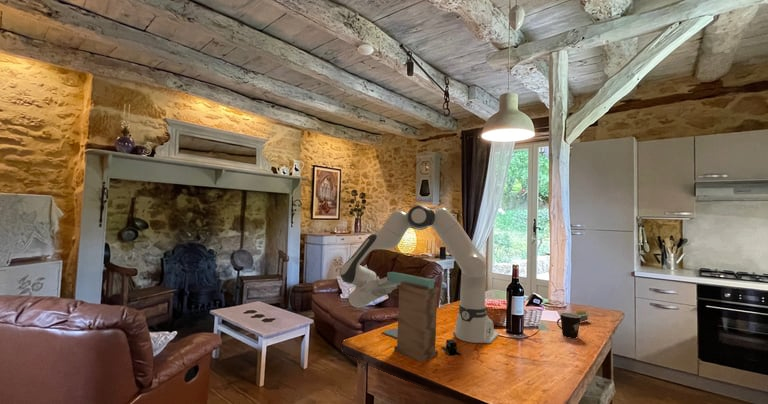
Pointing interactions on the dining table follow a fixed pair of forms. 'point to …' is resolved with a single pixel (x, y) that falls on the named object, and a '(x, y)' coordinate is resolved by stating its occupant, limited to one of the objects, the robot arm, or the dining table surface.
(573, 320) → the coffee mug
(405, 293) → the walnut stand
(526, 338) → the dining table surface
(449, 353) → the black block on plate
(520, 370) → the dining table surface
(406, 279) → the teal square bar
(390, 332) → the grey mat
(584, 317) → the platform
